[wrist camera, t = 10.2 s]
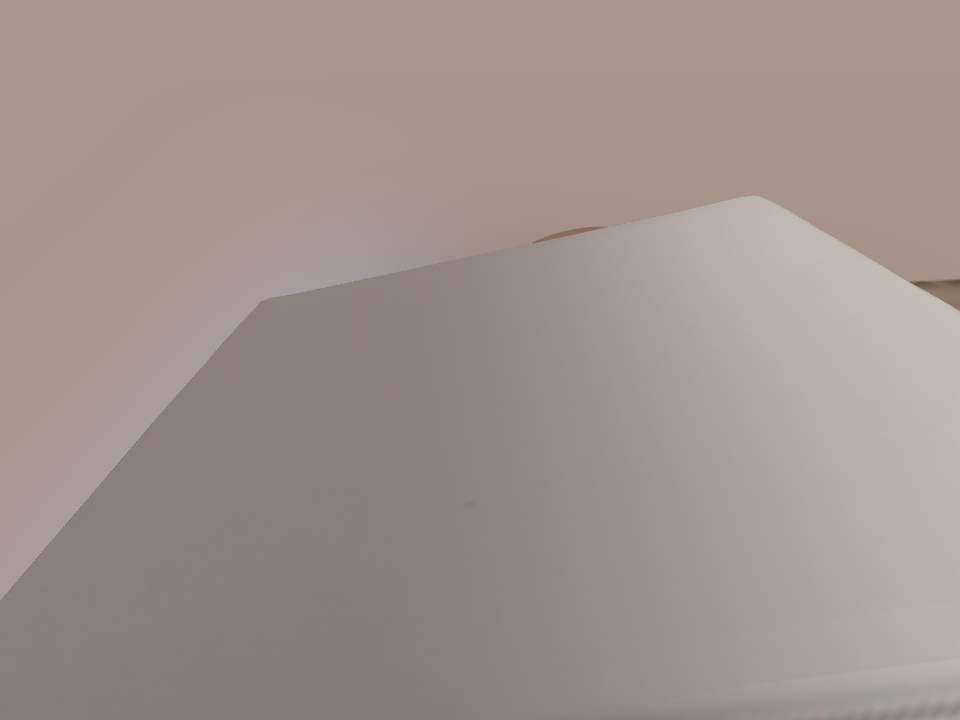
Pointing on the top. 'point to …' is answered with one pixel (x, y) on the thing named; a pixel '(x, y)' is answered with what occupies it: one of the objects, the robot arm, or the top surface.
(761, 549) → the supplement box
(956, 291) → the top surface
